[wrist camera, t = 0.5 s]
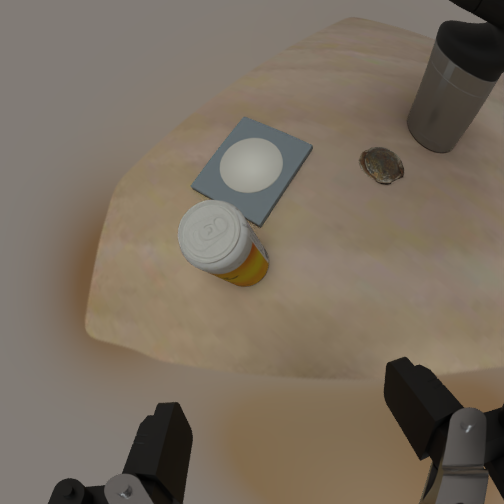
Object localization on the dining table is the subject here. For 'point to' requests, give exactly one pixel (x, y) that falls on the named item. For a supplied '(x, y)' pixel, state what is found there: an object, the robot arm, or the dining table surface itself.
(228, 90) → the dining table surface
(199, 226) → the beer can
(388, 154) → the decorative disc
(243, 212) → the board
